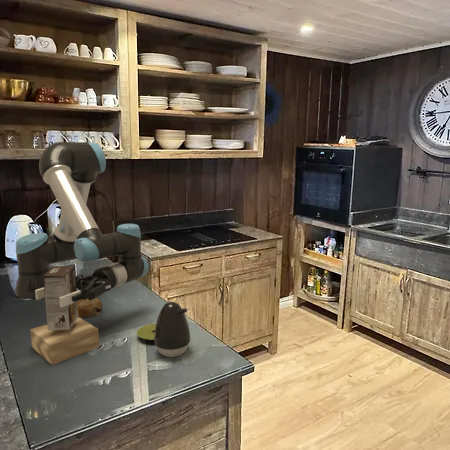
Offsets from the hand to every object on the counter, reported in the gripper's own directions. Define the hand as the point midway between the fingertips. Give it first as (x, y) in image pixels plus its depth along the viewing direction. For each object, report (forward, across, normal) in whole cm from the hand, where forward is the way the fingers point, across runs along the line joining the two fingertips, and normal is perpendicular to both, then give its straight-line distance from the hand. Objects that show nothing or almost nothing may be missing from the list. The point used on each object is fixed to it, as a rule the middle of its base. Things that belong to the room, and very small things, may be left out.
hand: (48, 298), depth 114 cm
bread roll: (-25, +16, -17) cm, 34 cm away
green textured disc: (-23, -18, -17) cm, 34 cm away
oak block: (-4, 0, -17) cm, 17 cm away
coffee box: (-4, 0, -9) cm, 10 cm away
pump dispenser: (-18, -29, -17) cm, 38 cm away
